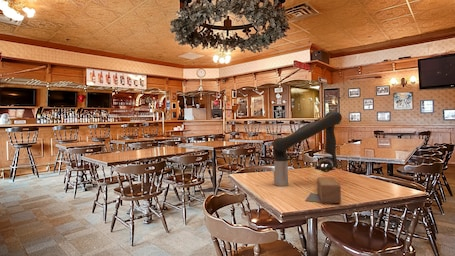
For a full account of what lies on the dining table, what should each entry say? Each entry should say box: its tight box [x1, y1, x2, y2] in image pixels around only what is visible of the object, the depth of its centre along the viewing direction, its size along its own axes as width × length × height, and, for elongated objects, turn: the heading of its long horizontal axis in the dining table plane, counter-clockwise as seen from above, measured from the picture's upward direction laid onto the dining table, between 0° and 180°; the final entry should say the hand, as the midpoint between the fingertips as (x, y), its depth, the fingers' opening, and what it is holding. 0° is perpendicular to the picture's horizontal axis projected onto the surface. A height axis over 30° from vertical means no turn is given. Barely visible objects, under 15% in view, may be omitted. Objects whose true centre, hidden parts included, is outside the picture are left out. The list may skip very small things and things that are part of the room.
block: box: [316, 176, 342, 204], centre depth 152 cm, size 10×10×20 cm
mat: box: [304, 192, 333, 205], centre depth 154 cm, size 14×17×1 cm
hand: (322, 169), depth 162 cm, fingers closed
